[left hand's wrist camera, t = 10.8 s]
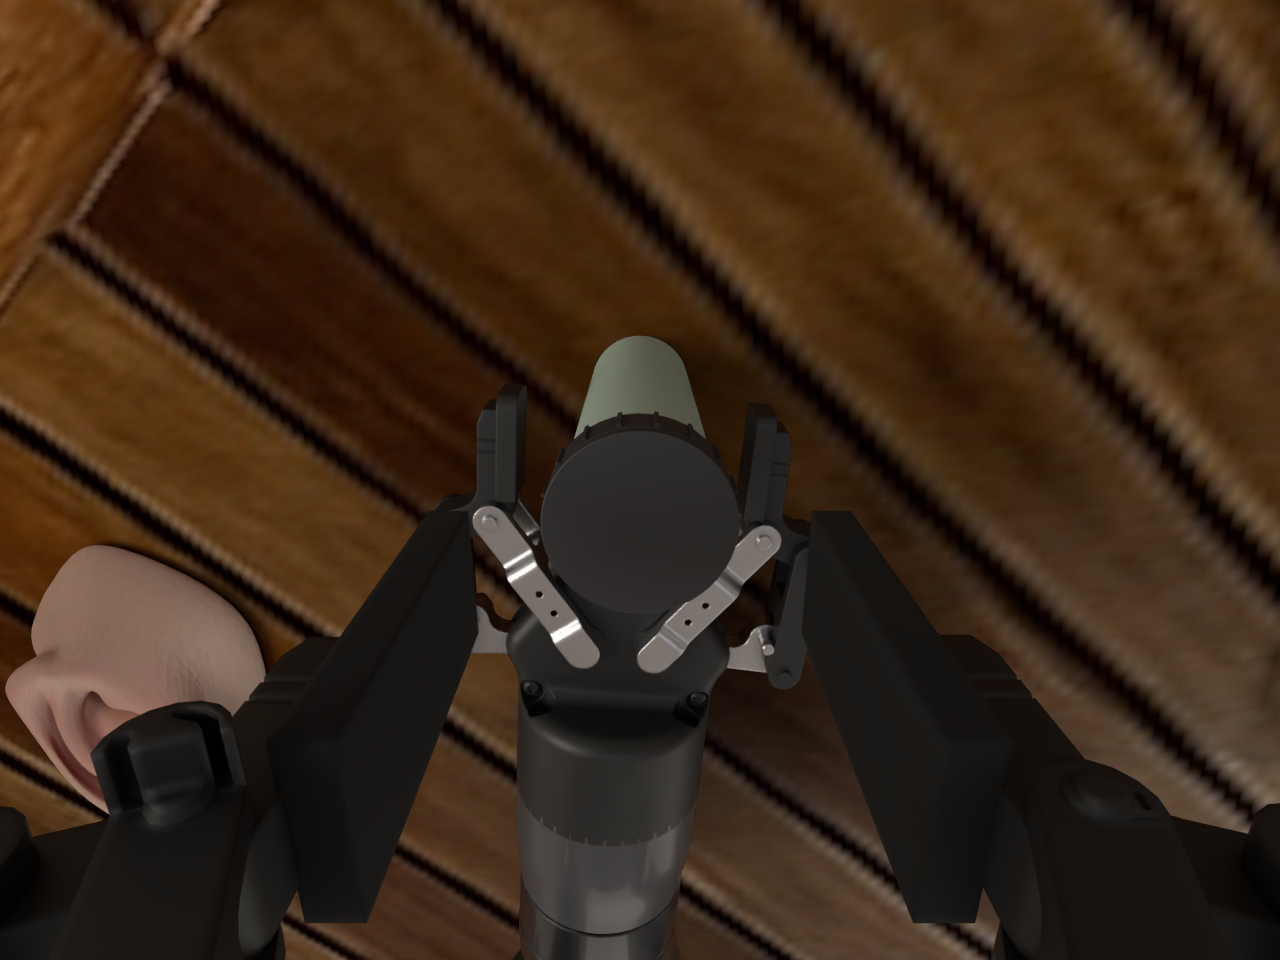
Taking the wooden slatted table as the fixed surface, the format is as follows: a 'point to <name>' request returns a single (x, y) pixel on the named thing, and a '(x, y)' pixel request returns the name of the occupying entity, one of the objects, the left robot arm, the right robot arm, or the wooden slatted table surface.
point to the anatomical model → (125, 654)
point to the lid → (639, 514)
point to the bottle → (640, 384)
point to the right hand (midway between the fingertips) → (637, 398)
